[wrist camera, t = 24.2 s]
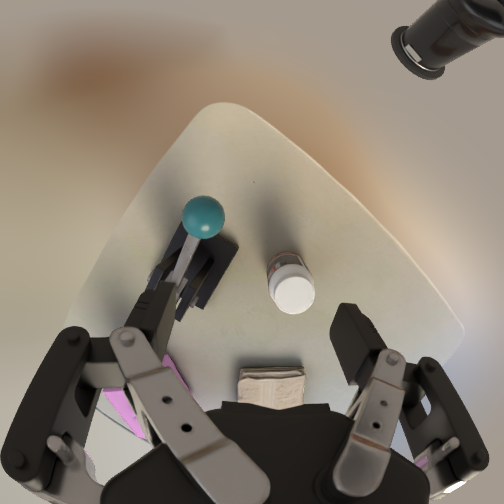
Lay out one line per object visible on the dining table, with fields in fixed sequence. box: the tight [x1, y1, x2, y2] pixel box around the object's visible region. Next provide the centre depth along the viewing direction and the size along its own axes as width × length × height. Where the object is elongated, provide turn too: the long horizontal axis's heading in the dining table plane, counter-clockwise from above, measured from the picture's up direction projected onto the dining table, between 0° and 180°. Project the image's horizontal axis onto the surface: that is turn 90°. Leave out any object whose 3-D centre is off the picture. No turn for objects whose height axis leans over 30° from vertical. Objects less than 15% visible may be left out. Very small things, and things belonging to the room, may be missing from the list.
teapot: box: [103, 354, 195, 438], centre depth 39 cm, size 20×10×12 cm, turn 19°
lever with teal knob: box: [165, 196, 225, 304], centre depth 26 cm, size 14×4×4 cm, turn 150°
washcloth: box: [237, 367, 306, 410], centre depth 44 cm, size 12×18×3 cm, turn 2°
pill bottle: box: [267, 252, 315, 314], centre depth 35 cm, size 6×6×10 cm
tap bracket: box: [145, 221, 239, 322], centre depth 34 cm, size 11×9×13 cm
